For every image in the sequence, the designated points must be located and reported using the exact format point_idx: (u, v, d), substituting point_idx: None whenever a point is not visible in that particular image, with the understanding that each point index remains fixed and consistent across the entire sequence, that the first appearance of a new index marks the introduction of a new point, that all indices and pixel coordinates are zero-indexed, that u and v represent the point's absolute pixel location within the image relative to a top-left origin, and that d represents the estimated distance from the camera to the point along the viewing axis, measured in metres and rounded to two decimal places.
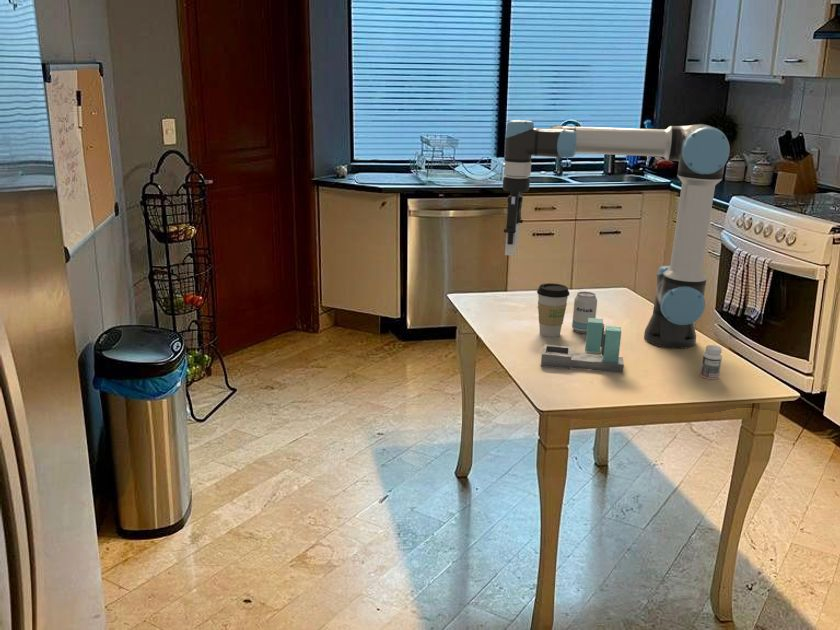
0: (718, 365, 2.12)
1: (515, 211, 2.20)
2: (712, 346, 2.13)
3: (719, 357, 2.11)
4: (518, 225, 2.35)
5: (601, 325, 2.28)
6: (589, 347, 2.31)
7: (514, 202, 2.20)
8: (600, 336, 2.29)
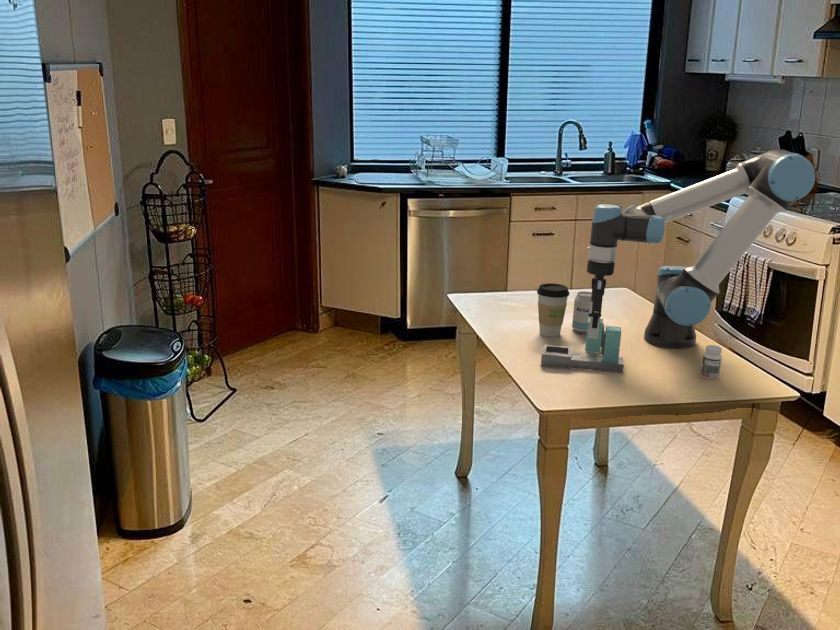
0: (718, 365, 2.12)
1: (601, 296, 2.20)
2: (712, 346, 2.13)
3: (719, 357, 2.11)
4: None
5: (601, 325, 2.28)
6: (589, 347, 2.31)
7: (600, 287, 2.20)
8: (600, 336, 2.29)
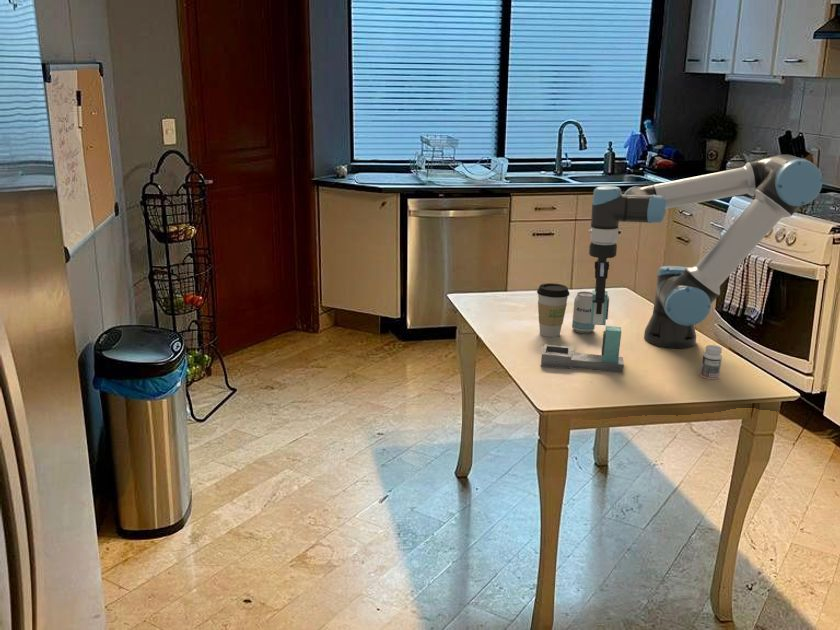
0: (718, 365, 2.12)
1: (604, 283, 2.21)
2: (712, 346, 2.13)
3: (719, 357, 2.11)
4: None
5: (606, 297, 2.26)
6: None
7: (603, 275, 2.20)
8: (605, 308, 2.27)
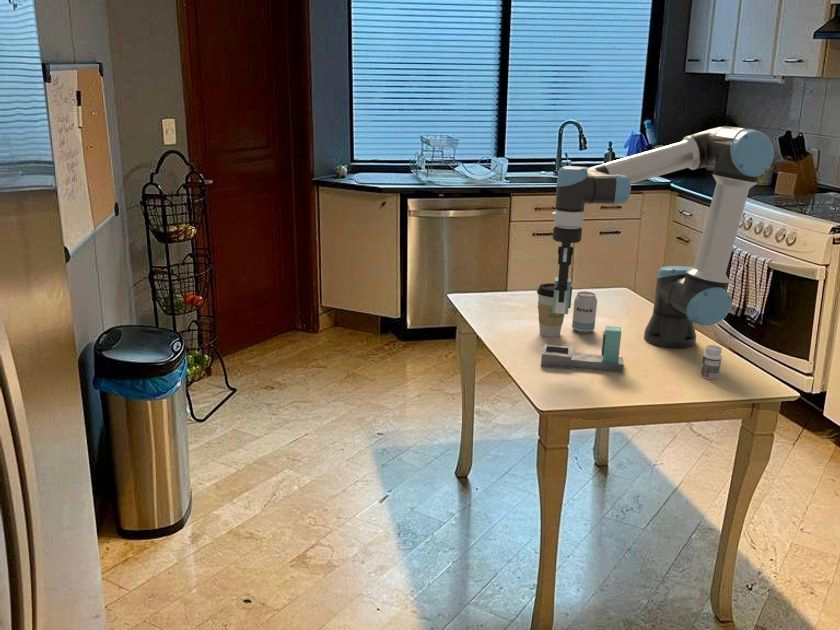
0: (718, 365, 2.12)
1: (567, 270, 2.08)
2: (712, 346, 2.13)
3: (719, 357, 2.11)
4: None
5: (569, 284, 2.12)
6: None
7: (566, 260, 2.07)
8: (568, 296, 2.13)
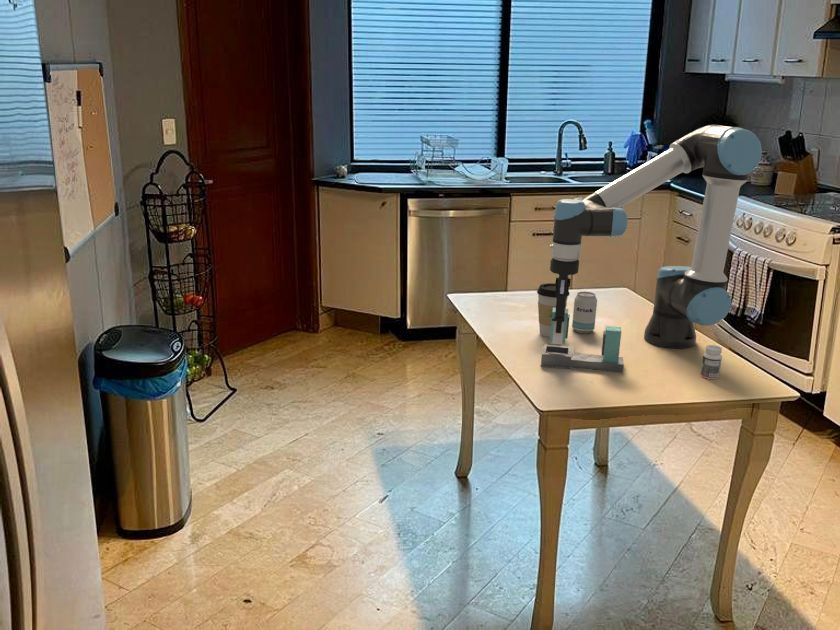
0: (718, 365, 2.12)
1: (564, 301, 2.10)
2: (712, 346, 2.13)
3: (719, 357, 2.11)
4: None
5: (566, 315, 2.15)
6: None
7: (563, 293, 2.09)
8: (565, 327, 2.16)
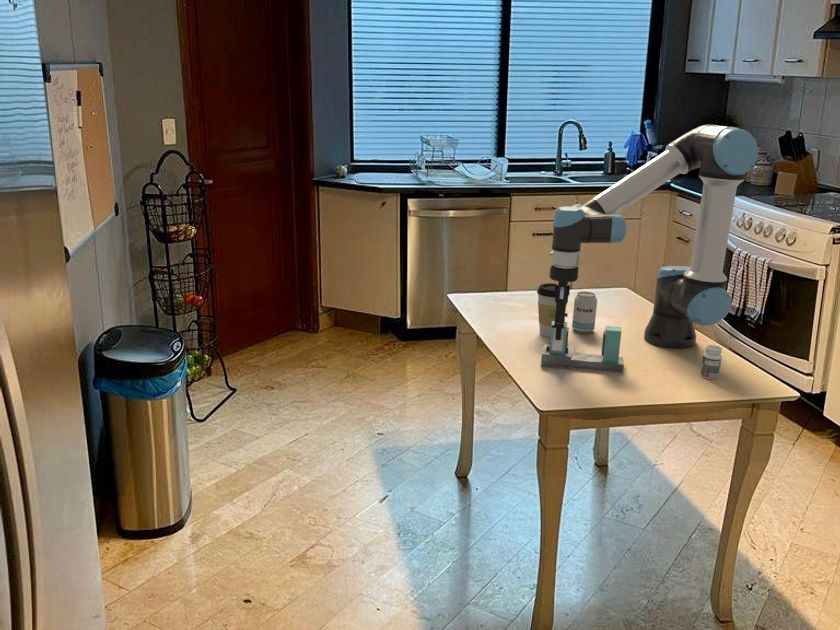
0: (718, 365, 2.12)
1: (564, 307, 2.10)
2: (712, 346, 2.13)
3: (719, 357, 2.11)
4: None
5: (565, 329, 2.16)
6: (552, 352, 2.19)
7: (563, 297, 2.09)
8: (564, 340, 2.17)
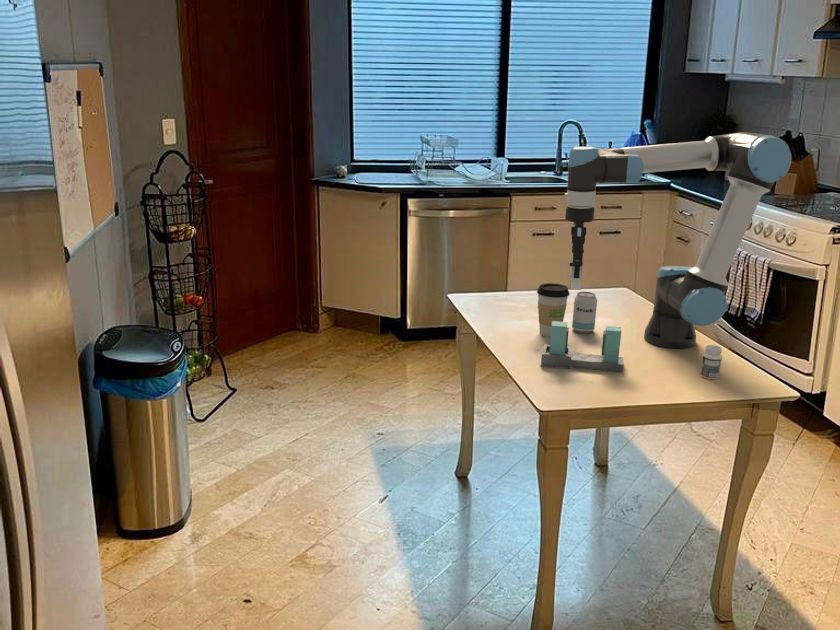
0: (718, 365, 2.12)
1: (582, 243, 2.08)
2: (712, 346, 2.13)
3: (719, 357, 2.11)
4: None
5: (565, 329, 2.16)
6: (552, 352, 2.19)
7: (580, 234, 2.08)
8: (564, 340, 2.17)
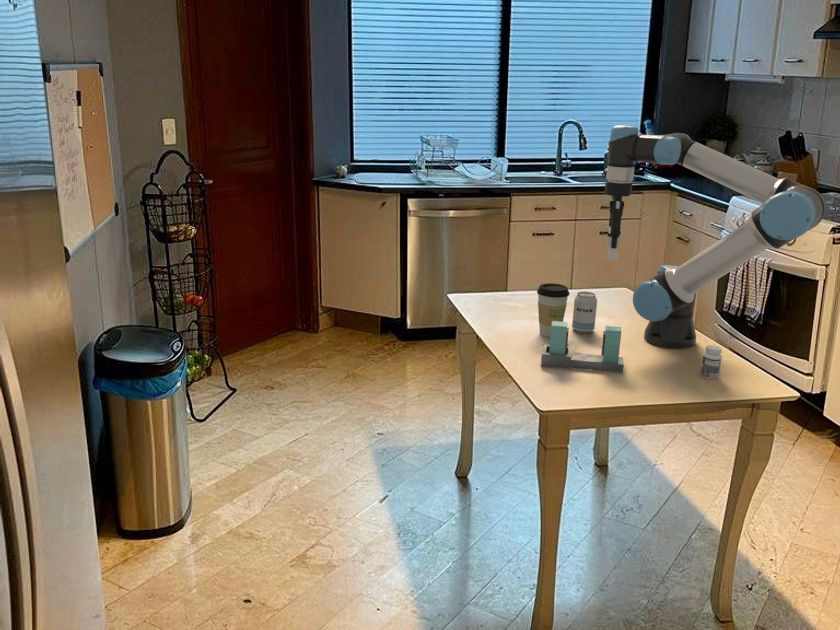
0: (718, 365, 2.12)
1: (620, 215, 2.22)
2: (712, 346, 2.13)
3: (719, 357, 2.11)
4: None
5: (565, 329, 2.16)
6: (552, 352, 2.19)
7: (619, 206, 2.23)
8: (564, 340, 2.17)
